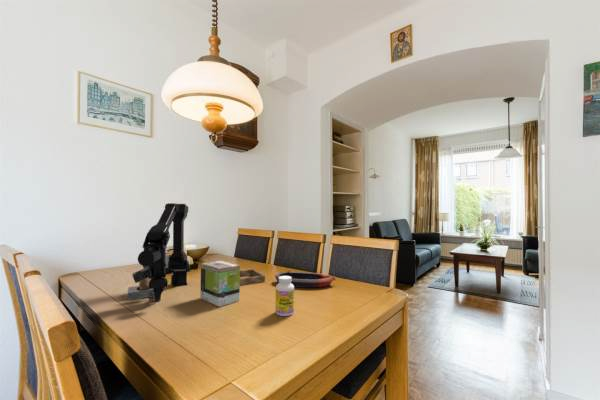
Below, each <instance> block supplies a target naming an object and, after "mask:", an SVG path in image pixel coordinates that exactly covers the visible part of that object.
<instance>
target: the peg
mask: <svg viewBox="0 0 600 400" xmlns="http://www.w3.org/2000/svg"><path fill="white" fill-rule="evenodd" d="M150 280H151V279H148V278H145V279H143V280H141V281H139V282H138V283H139V285H138V286H139V290H146V289H149V281H150Z"/></svg>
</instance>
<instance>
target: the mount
mask: <svg viewBox="0 0 600 400" xmlns="http://www.w3.org/2000/svg"><path fill="white" fill-rule="evenodd" d="M153 292H154V291H153V289H146V290H139V285H136V286H130V287H129V286H128V290H127V301H132V300H133V301H134V300H138V299H139V300H140V298H141V299H146V298H147V297H148V298H153Z"/></svg>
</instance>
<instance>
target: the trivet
mask: <svg viewBox="0 0 600 400" xmlns="http://www.w3.org/2000/svg"><path fill="white" fill-rule="evenodd" d="M247 275H249V276H251V277H249V276H247ZM246 276H247V277H246ZM241 277H244V278H241ZM264 281H265V282H266V276H265V275H264V274H262V273H261V272H259V271H257V270H255V269H254V268H251V269H243V270H240V286H244V285H245V284H246V285H252V283H253V284H258V282H259V283H264ZM246 285H245V286H246Z"/></svg>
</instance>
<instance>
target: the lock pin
mask: <svg viewBox="0 0 600 400" xmlns="http://www.w3.org/2000/svg"><path fill="white" fill-rule="evenodd" d="M157 301H162V295H161V296H160V298H159V300H157ZM157 301H156V300H155V295H154V291H153V297H152V302H157Z"/></svg>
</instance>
